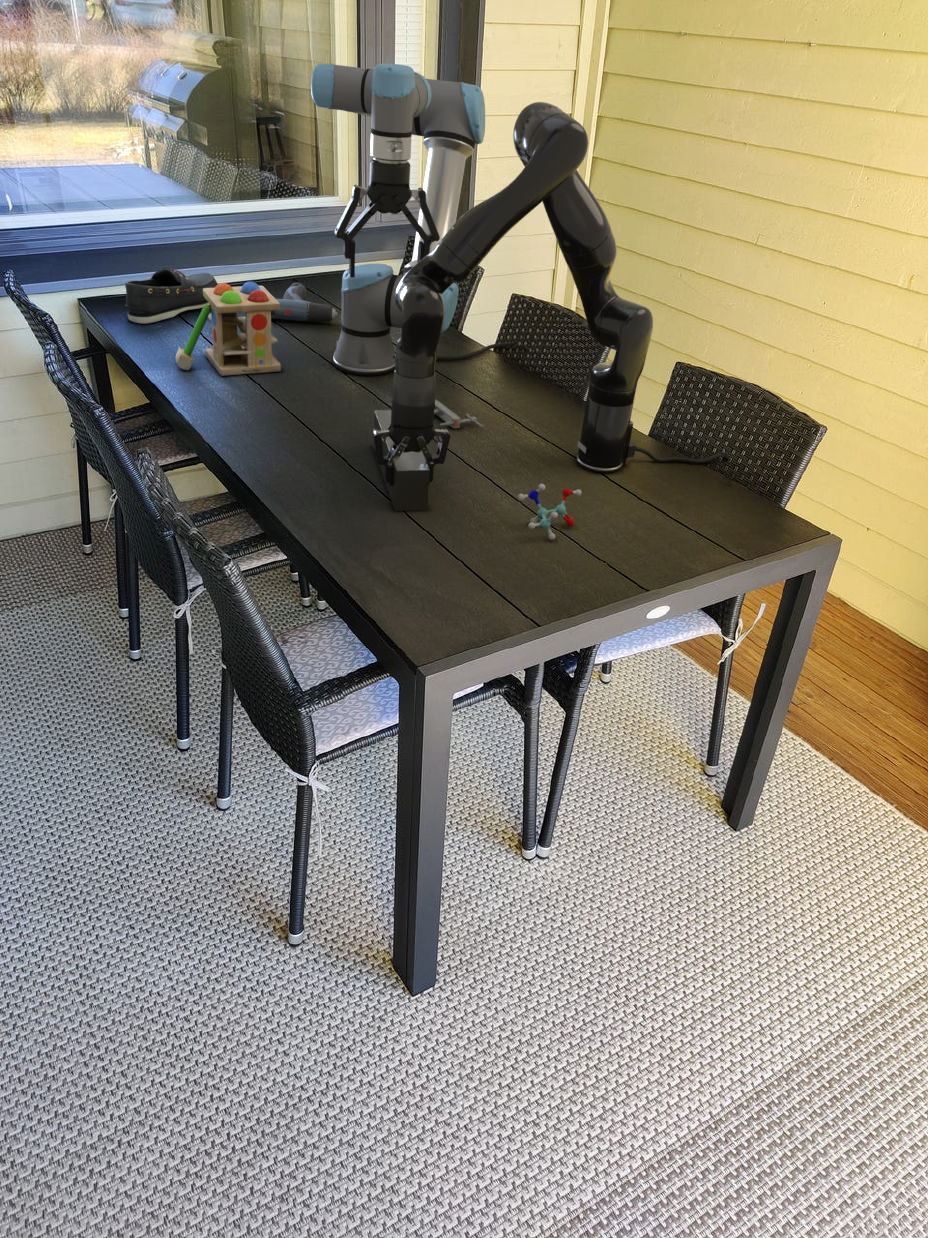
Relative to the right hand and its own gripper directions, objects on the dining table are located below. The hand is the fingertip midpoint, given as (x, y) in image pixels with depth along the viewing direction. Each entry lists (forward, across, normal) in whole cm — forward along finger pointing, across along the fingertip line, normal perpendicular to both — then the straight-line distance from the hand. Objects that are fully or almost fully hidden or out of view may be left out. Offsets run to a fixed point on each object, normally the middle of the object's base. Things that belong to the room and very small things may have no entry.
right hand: (408, 483), depth 179 cm
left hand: (-27, +1, +37) cm, 46 cm away
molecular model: (+4, +23, -12) cm, 26 cm away
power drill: (+4, -9, +110) cm, 110 cm away
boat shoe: (+4, -43, +113) cm, 121 cm away
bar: (+4, 0, +10) cm, 11 cm away
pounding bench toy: (+4, -31, +70) cm, 77 cm away
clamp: (+4, +15, +36) cm, 39 cm away
